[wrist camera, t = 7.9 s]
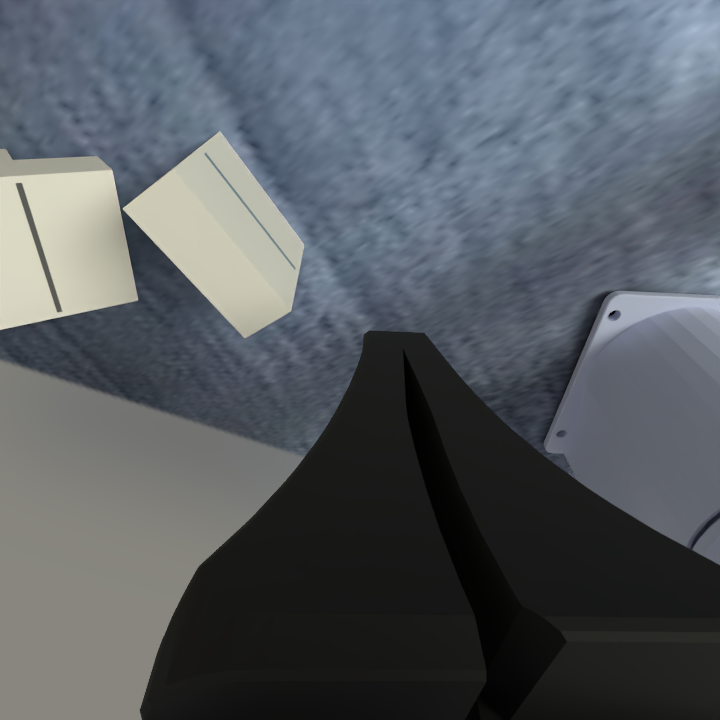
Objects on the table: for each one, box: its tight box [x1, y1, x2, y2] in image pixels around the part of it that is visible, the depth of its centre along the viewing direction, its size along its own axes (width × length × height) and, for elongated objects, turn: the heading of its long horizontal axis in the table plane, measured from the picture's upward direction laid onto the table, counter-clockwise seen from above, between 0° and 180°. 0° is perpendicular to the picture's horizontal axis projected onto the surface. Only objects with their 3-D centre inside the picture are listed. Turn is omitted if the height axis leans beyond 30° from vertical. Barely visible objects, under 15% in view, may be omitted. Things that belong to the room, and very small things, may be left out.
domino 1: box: [0, 156, 138, 330], centre depth 15 cm, size 5×2×5 cm
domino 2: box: [123, 131, 304, 338], centre depth 15 cm, size 5×2×5 cm, turn 32°
